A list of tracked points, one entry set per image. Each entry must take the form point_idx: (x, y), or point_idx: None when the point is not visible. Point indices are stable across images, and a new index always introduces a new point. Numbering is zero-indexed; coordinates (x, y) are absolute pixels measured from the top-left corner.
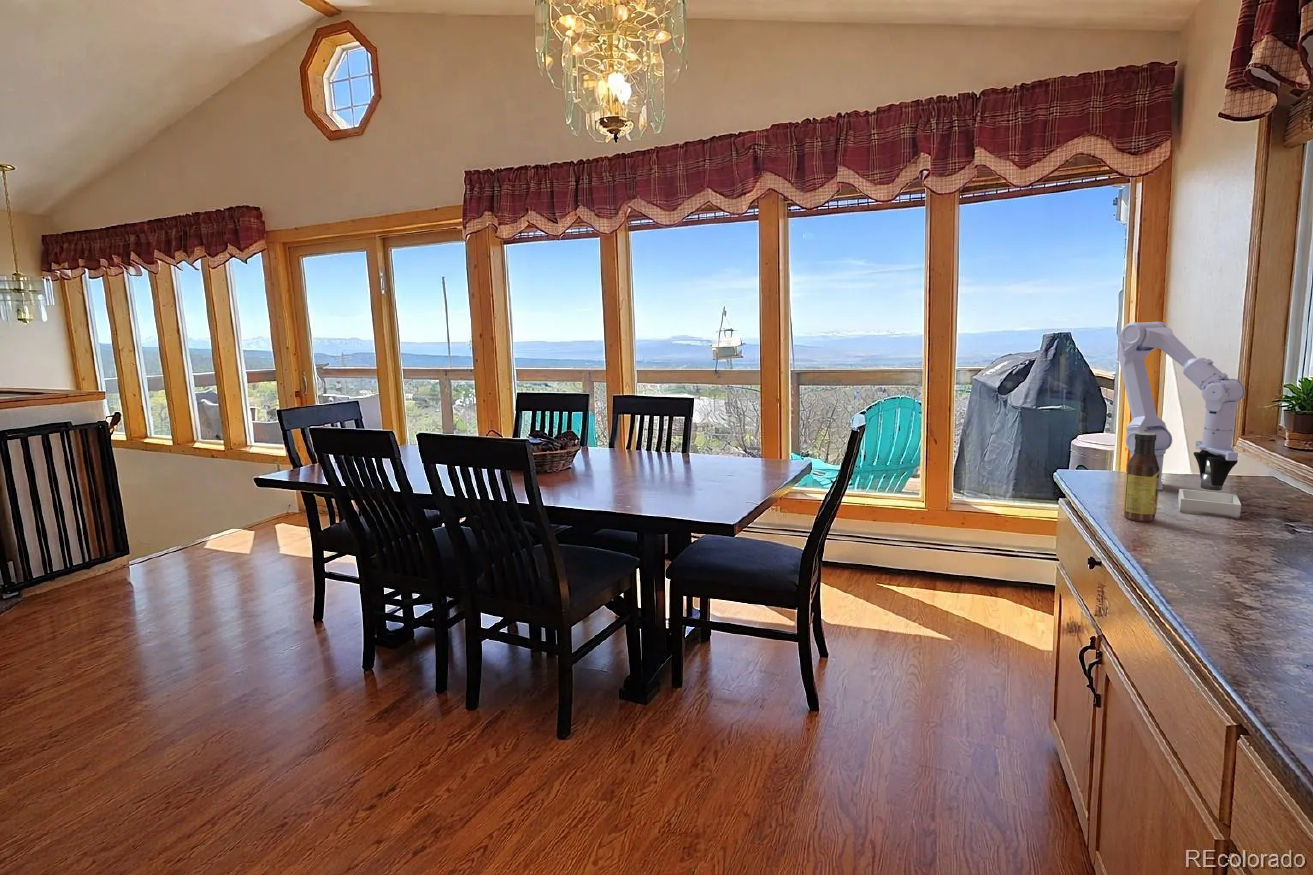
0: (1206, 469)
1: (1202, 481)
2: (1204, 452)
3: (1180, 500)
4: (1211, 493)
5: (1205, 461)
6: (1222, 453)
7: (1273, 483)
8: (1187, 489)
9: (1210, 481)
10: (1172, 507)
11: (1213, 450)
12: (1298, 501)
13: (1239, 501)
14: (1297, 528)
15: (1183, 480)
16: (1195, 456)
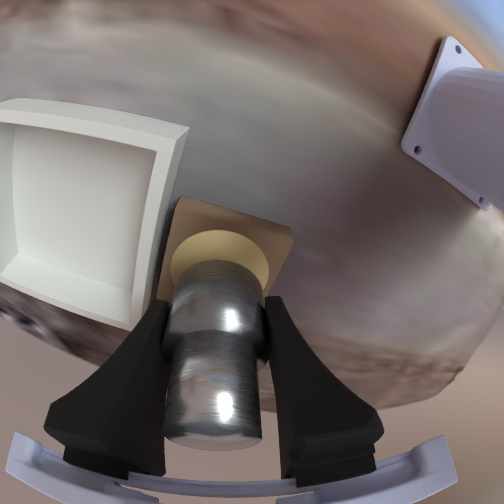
0: (202, 359)
1: (208, 285)
2: (315, 465)
3: (12, 106)
4: (136, 265)
5: (283, 407)
6: (34, 472)
7: (404, 399)
8: (163, 179)
9: (171, 310)
10: (69, 78)
11: (74, 497)
12: (267, 408)
13: (32, 295)
14: (16, 322)
15: (483, 281)
16: (348, 404)
